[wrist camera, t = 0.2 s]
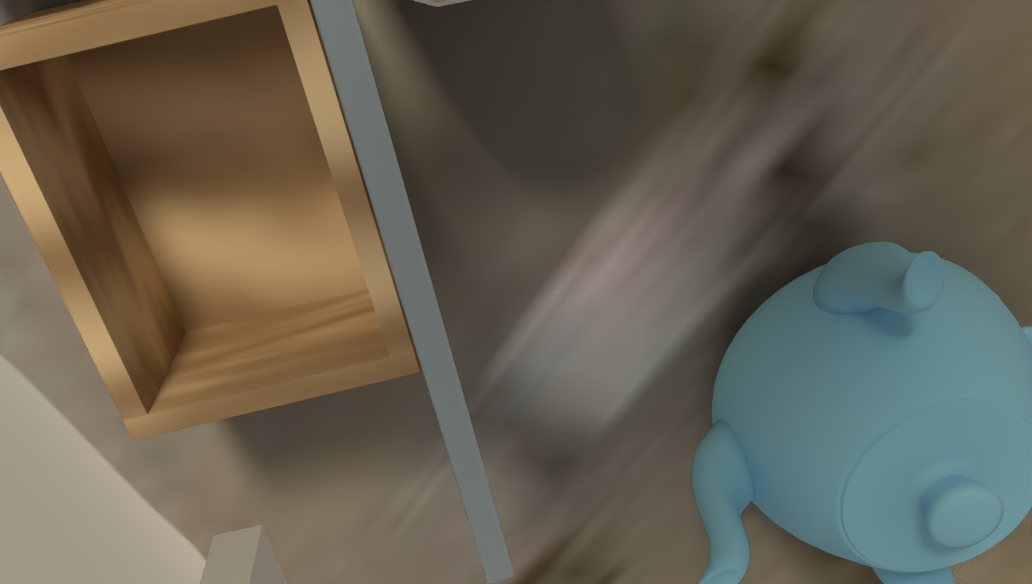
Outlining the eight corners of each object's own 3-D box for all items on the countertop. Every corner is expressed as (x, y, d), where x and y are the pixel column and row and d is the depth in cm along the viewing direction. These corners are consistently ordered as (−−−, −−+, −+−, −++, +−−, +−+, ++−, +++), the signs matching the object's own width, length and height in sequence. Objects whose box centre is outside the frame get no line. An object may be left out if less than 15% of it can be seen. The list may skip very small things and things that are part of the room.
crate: (32, 12, 37) (-59, 51, 30) (319, -56, 37) (296, -34, 30) (178, 345, 44) (132, 440, 37) (419, 287, 44) (420, 372, 37)
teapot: (619, 454, 50) (677, 625, 39) (802, 152, 43) (935, 255, 32) (868, 540, 55) (984, 714, 44) (1068, 279, 48) (1263, 406, 37)
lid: (311, -1, 19) (348, -11, 19) (296, -44, 30) (320, -50, 30) (488, 585, 26) (514, 575, 26) (424, 377, 37) (443, 371, 37)
